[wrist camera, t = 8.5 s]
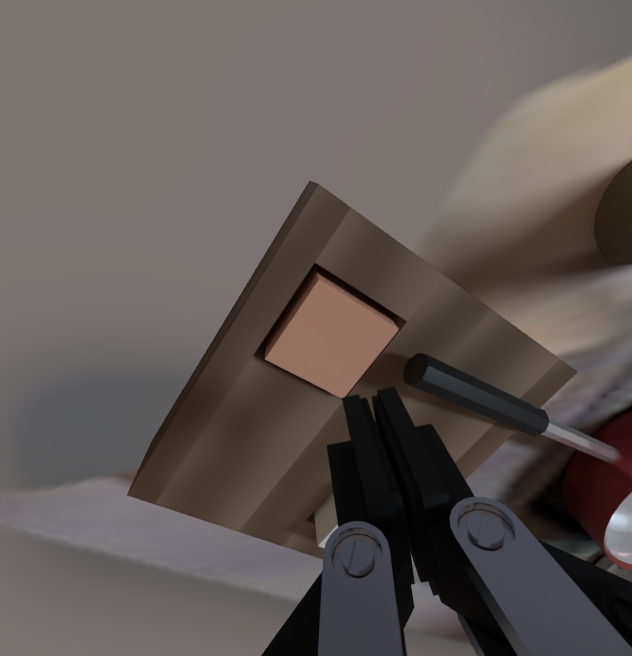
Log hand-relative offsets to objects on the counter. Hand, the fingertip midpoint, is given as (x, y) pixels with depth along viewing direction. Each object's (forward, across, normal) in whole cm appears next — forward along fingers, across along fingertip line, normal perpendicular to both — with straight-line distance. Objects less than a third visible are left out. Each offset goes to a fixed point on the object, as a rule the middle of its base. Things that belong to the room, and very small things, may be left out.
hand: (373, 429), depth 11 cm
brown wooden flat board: (+10, +1, +5) cm, 11 cm away
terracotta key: (+8, +1, -1) cm, 8 cm away
